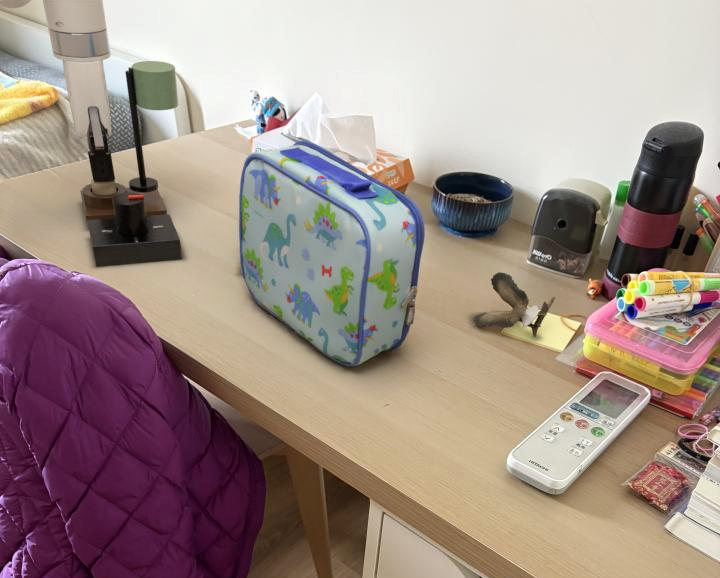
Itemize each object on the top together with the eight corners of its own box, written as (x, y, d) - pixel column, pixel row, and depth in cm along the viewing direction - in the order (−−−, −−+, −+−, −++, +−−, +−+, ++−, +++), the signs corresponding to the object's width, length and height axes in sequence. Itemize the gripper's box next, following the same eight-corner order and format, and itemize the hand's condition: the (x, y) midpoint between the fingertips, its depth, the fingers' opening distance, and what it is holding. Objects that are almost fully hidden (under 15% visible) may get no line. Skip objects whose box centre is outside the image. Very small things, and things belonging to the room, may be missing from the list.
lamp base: (88, 229, 109) (83, 203, 107) (82, 203, 116) (78, 178, 113) (167, 223, 113) (165, 198, 110) (158, 199, 120) (155, 174, 117)
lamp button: (93, 197, 110) (91, 185, 108) (91, 188, 112) (89, 176, 111) (118, 195, 111) (116, 184, 110) (115, 186, 113) (113, 175, 112)
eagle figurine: (548, 311, 99) (489, 283, 100) (562, 286, 92) (498, 256, 93) (525, 356, 97) (465, 328, 99) (537, 334, 90) (473, 304, 92)
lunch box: (420, 359, 90) (446, 191, 76) (355, 387, 84) (370, 212, 70) (297, 275, 104) (300, 120, 89) (234, 295, 98) (226, 133, 84)
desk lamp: (132, 195, 110) (114, 72, 99) (127, 181, 114) (109, 61, 103) (188, 192, 113) (178, 71, 101) (182, 177, 117) (171, 60, 105)
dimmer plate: (96, 266, 101) (92, 245, 99) (90, 239, 107) (86, 218, 105) (181, 259, 105) (179, 238, 103) (171, 233, 111) (169, 213, 109)
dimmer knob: (118, 236, 102) (113, 203, 98) (115, 224, 105) (110, 191, 101) (150, 234, 103) (146, 201, 100) (146, 221, 106) (141, 189, 103)
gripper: (48, 30, 102) (74, 163, 114) (54, 57, 92) (82, 200, 104) (103, 30, 104) (123, 160, 116) (115, 56, 94) (135, 196, 106)
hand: (103, 179), depth 110 cm, fingers closed
